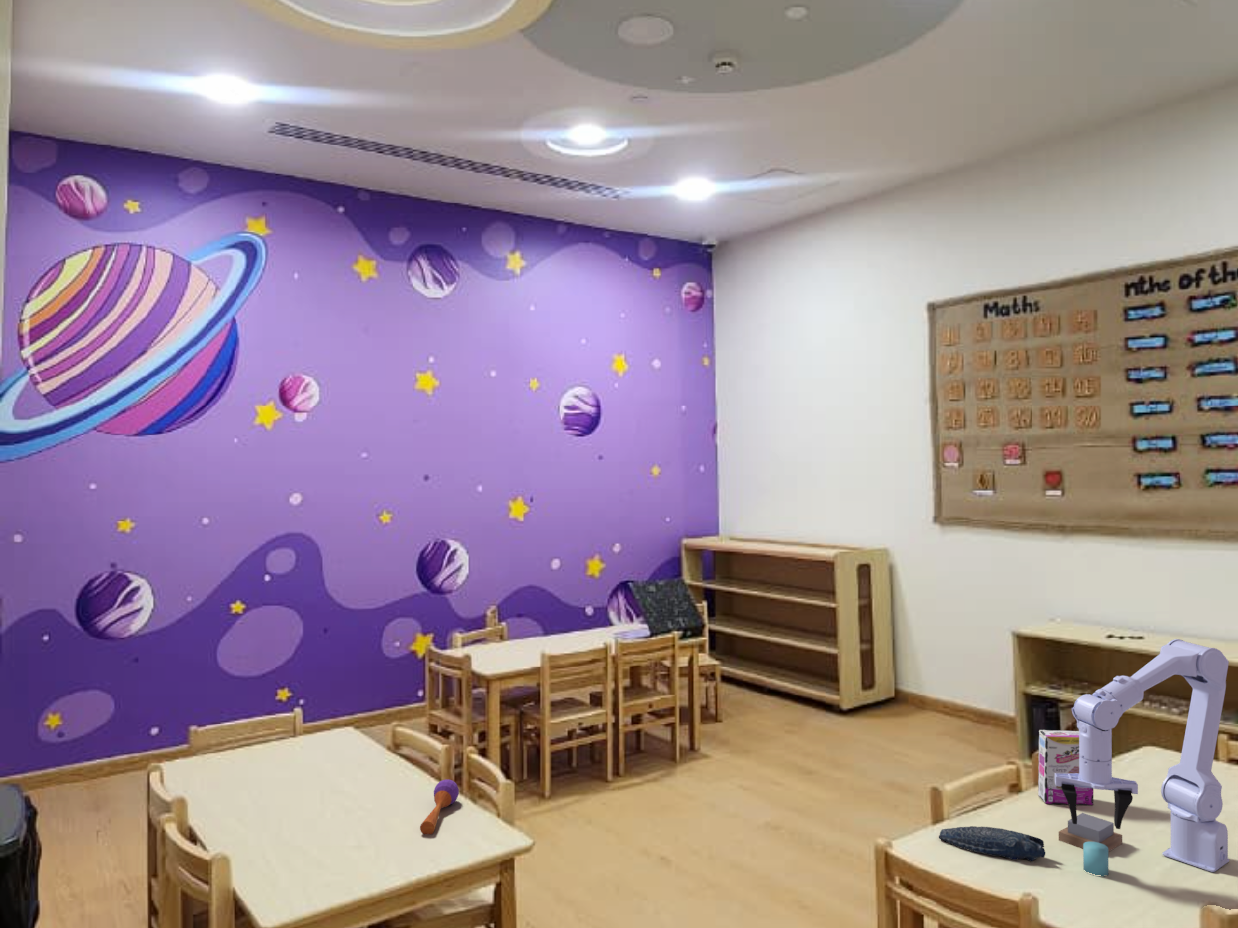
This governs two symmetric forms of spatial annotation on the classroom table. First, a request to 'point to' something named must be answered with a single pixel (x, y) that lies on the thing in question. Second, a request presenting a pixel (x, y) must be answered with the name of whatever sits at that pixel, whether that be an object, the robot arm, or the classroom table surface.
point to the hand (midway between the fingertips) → (1095, 824)
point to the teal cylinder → (1095, 858)
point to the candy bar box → (1059, 766)
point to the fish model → (995, 842)
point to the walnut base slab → (1079, 841)
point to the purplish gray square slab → (1091, 828)
